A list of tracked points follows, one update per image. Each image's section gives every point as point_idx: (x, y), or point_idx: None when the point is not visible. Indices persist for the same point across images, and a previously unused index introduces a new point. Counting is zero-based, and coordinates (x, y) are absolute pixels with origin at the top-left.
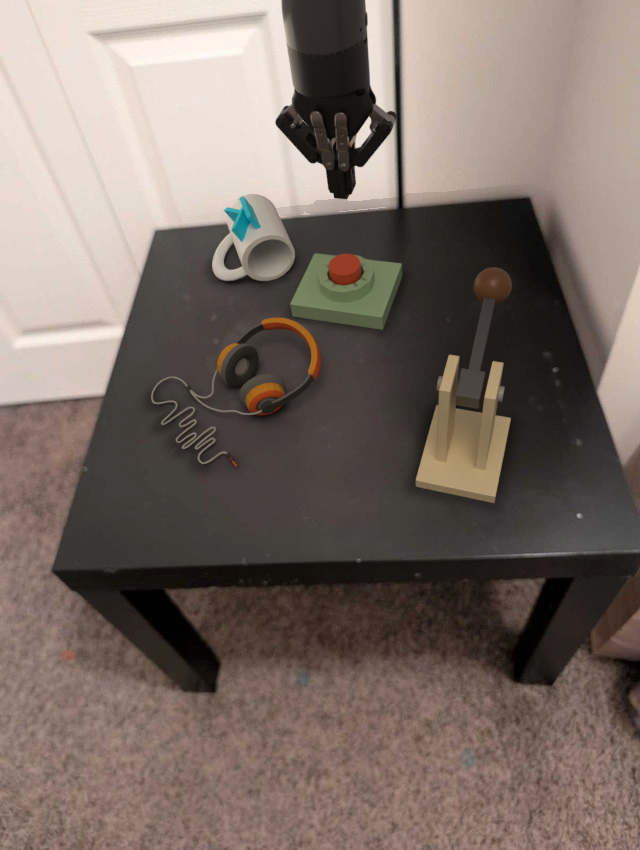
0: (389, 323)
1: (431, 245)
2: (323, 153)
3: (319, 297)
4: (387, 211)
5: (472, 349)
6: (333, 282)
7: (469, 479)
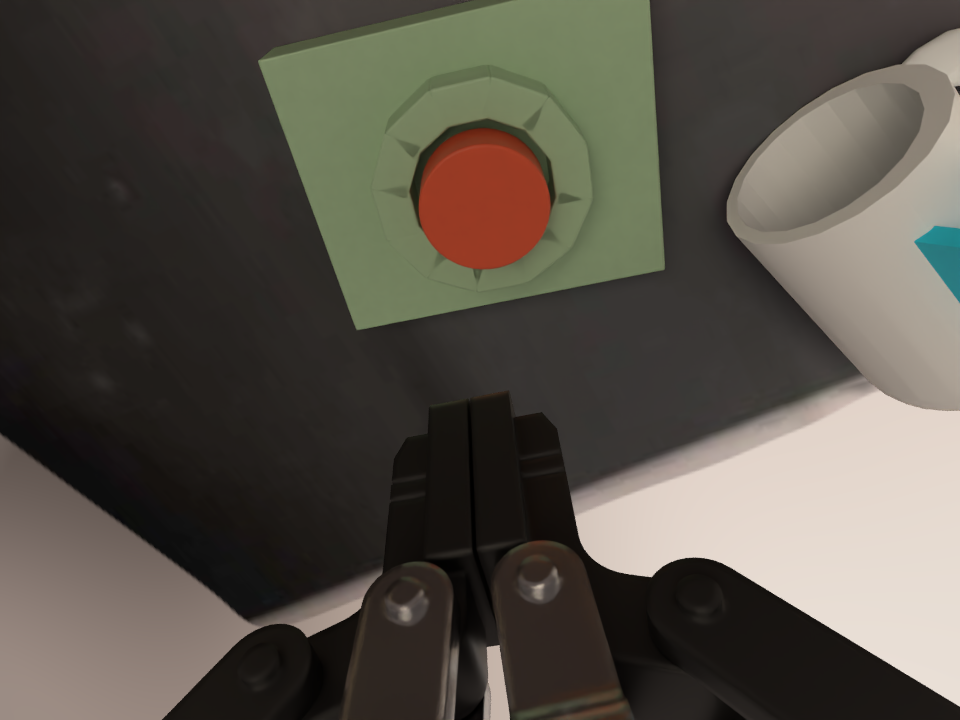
0: None
1: (357, 435)
2: (590, 674)
3: (544, 61)
4: None
5: None
6: None
7: None
